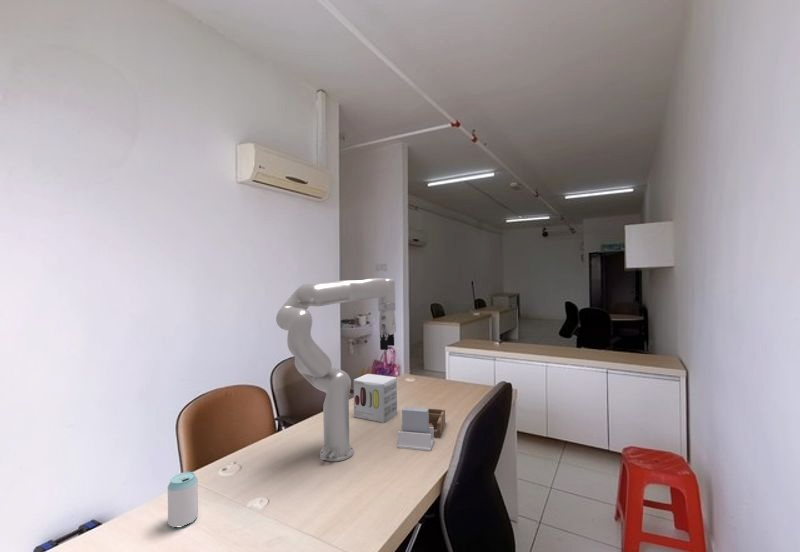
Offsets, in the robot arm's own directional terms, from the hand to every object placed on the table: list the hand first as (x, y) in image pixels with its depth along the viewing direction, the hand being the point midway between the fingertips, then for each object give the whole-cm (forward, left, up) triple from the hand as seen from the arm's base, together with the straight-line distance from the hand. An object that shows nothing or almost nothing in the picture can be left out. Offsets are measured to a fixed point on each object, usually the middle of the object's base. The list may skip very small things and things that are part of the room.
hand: (387, 347), depth 155 cm
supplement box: (+18, +12, -37) cm, 43 cm away
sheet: (-8, -13, -36) cm, 39 cm away
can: (-67, +39, -36) cm, 86 cm away
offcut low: (+4, -13, -37) cm, 39 cm away
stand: (-8, -13, -36) cm, 40 cm away
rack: (+7, -14, -36) cm, 40 cm away
